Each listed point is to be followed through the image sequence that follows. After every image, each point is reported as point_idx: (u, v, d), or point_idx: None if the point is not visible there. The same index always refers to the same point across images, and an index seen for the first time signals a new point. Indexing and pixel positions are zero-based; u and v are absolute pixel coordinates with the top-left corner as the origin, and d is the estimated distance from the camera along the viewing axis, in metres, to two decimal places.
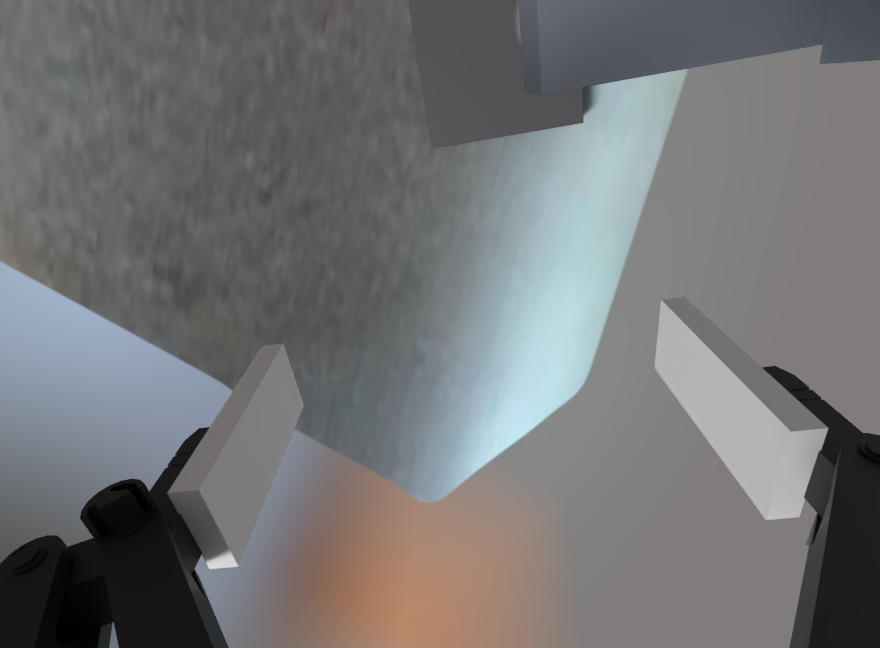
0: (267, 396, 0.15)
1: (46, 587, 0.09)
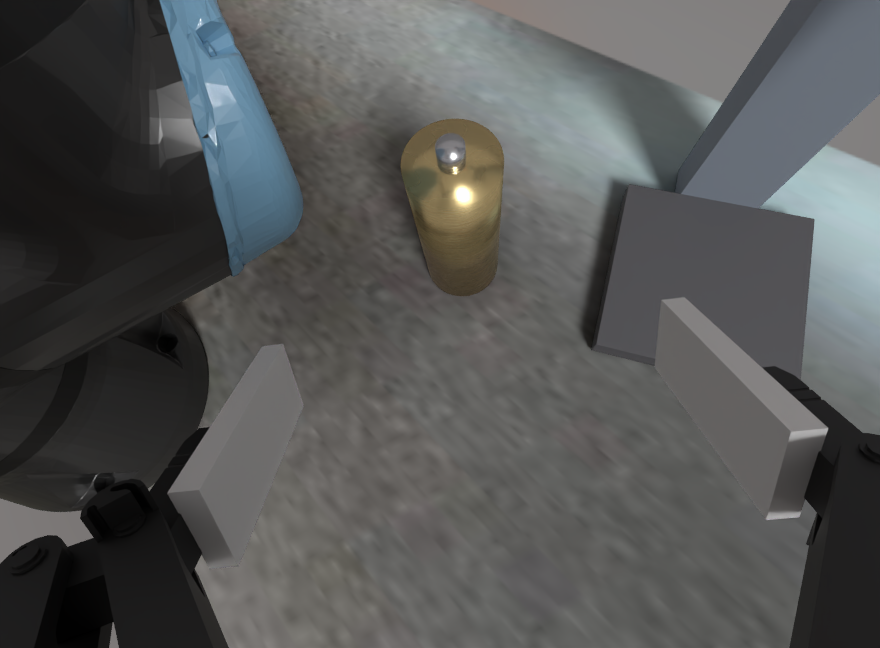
0: (267, 396, 0.15)
1: (46, 587, 0.09)
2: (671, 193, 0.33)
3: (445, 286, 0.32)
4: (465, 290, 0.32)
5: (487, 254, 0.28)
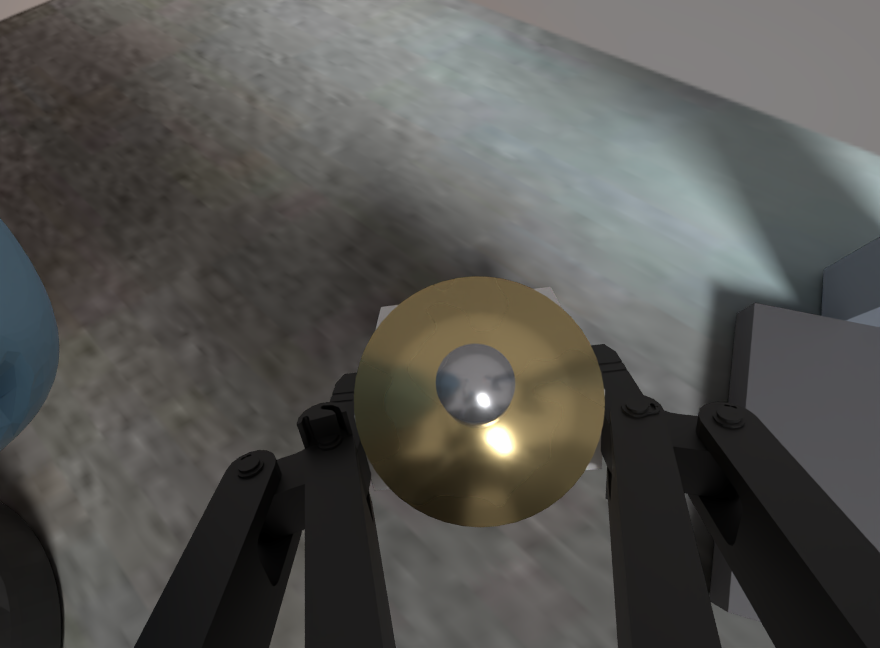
0: None
1: (258, 498, 0.10)
2: (829, 319, 0.19)
3: None
4: None
5: None
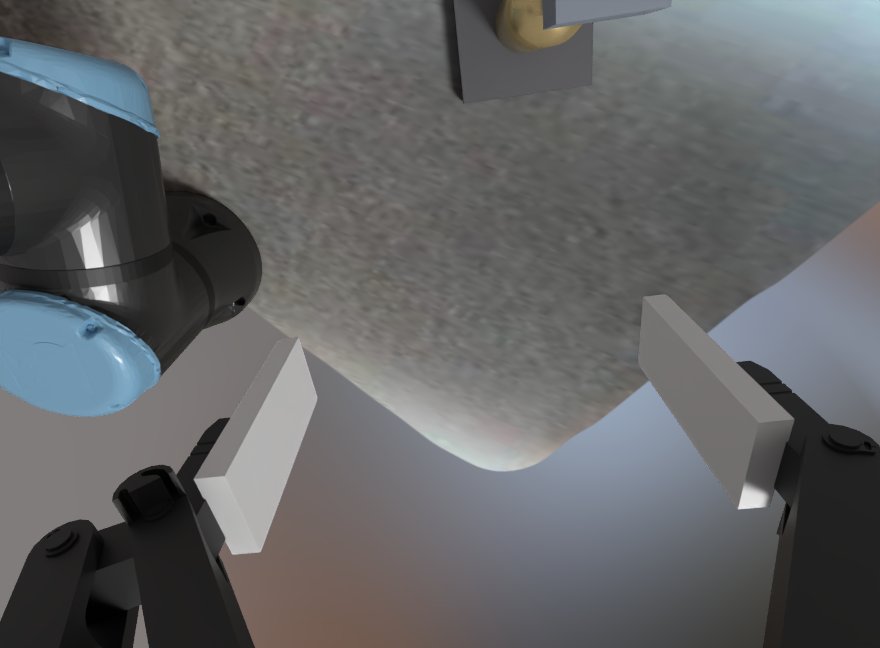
0: (284, 388, 0.15)
1: (77, 570, 0.09)
2: None
3: (521, 52, 0.42)
4: None
5: None
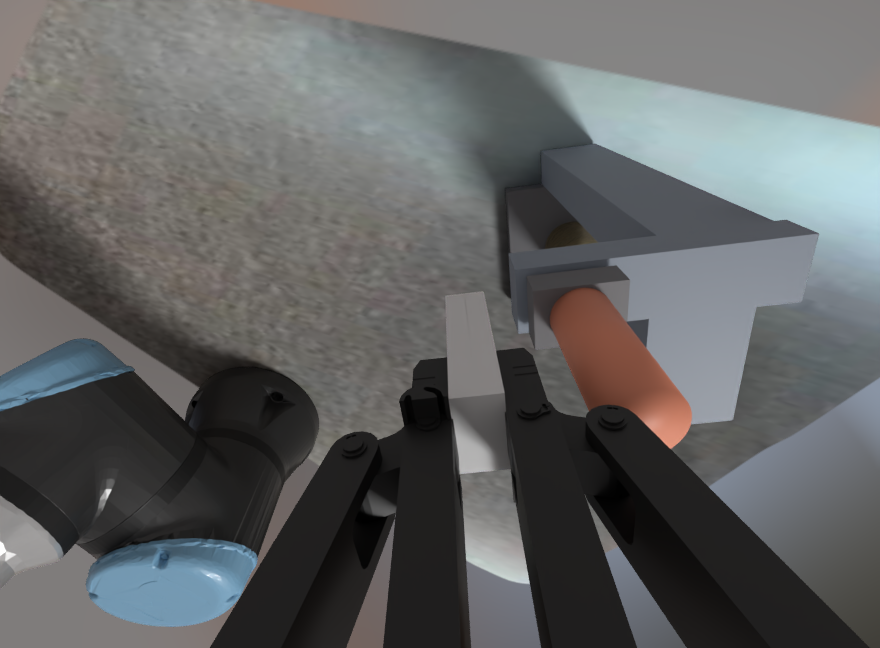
0: None
1: (358, 481, 0.10)
2: (538, 189, 0.44)
3: None
4: None
5: None
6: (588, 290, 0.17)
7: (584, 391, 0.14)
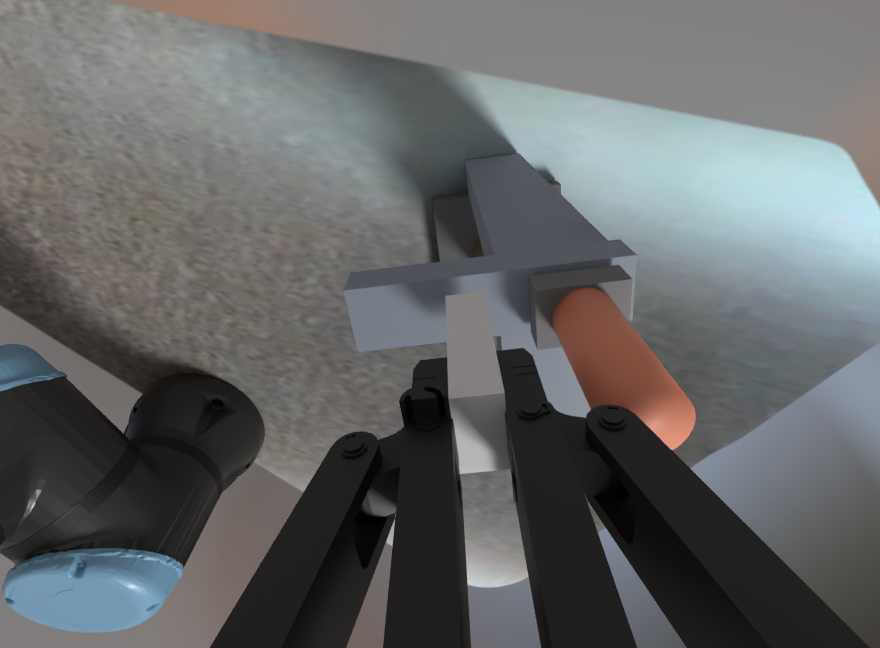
0: None
1: (358, 481, 0.10)
2: (462, 198, 0.44)
3: None
4: None
5: None
6: (590, 289, 0.17)
7: (587, 391, 0.14)
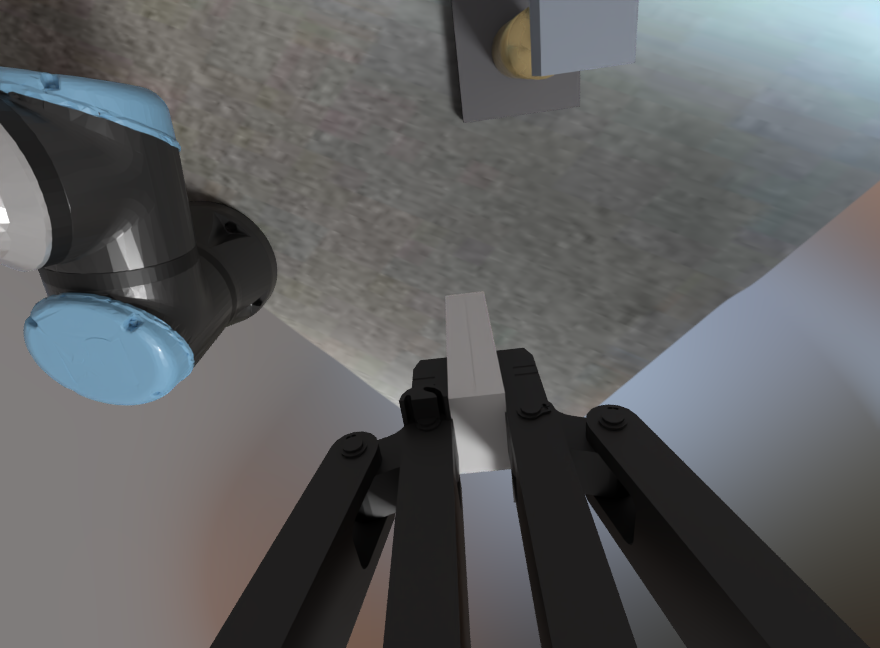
0: None
1: (358, 481, 0.10)
2: None
3: None
4: None
5: None
6: None
7: None
